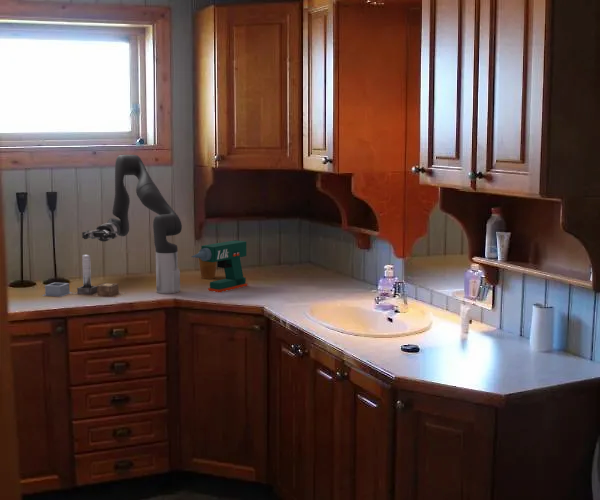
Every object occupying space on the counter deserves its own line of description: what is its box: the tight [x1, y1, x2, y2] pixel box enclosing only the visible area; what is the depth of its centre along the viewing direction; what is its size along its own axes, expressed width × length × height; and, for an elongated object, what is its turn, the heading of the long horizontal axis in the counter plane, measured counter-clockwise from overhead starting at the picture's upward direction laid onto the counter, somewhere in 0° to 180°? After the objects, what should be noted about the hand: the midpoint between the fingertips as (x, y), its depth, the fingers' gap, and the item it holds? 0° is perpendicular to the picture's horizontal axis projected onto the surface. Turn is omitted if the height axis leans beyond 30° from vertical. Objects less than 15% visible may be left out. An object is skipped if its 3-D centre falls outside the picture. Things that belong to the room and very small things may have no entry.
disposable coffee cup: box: [198, 258, 217, 280], centre depth 380 cm, size 10×10×12 cm
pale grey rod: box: [81, 254, 92, 288], centre depth 339 cm, size 3×3×16 cm
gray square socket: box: [41, 282, 74, 298], centre depth 338 cm, size 9×9×5 cm
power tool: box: [191, 240, 248, 293], centre depth 350 cm, size 32×7×20 cm, turn 143°
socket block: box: [70, 282, 126, 298], centre depth 339 cm, size 21×9×5 cm, turn 75°
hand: (94, 237), depth 348 cm, fingers open, 8 cm apart
